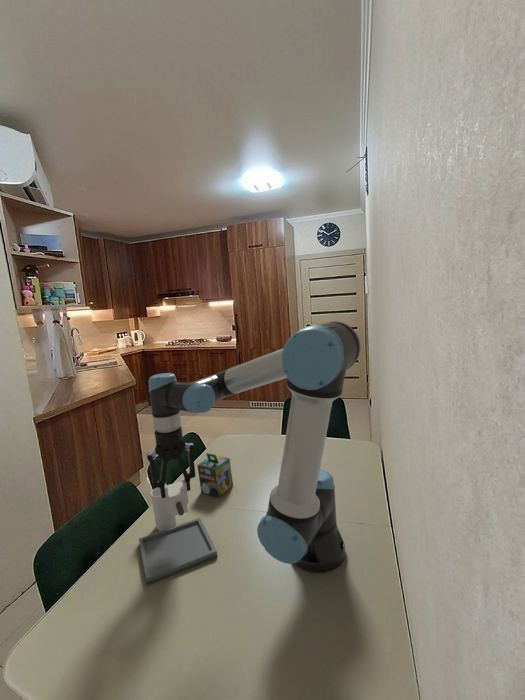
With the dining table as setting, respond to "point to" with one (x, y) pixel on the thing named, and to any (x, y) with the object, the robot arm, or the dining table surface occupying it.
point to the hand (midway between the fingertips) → (177, 503)
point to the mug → (161, 511)
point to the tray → (175, 550)
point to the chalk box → (215, 475)
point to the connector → (177, 499)
